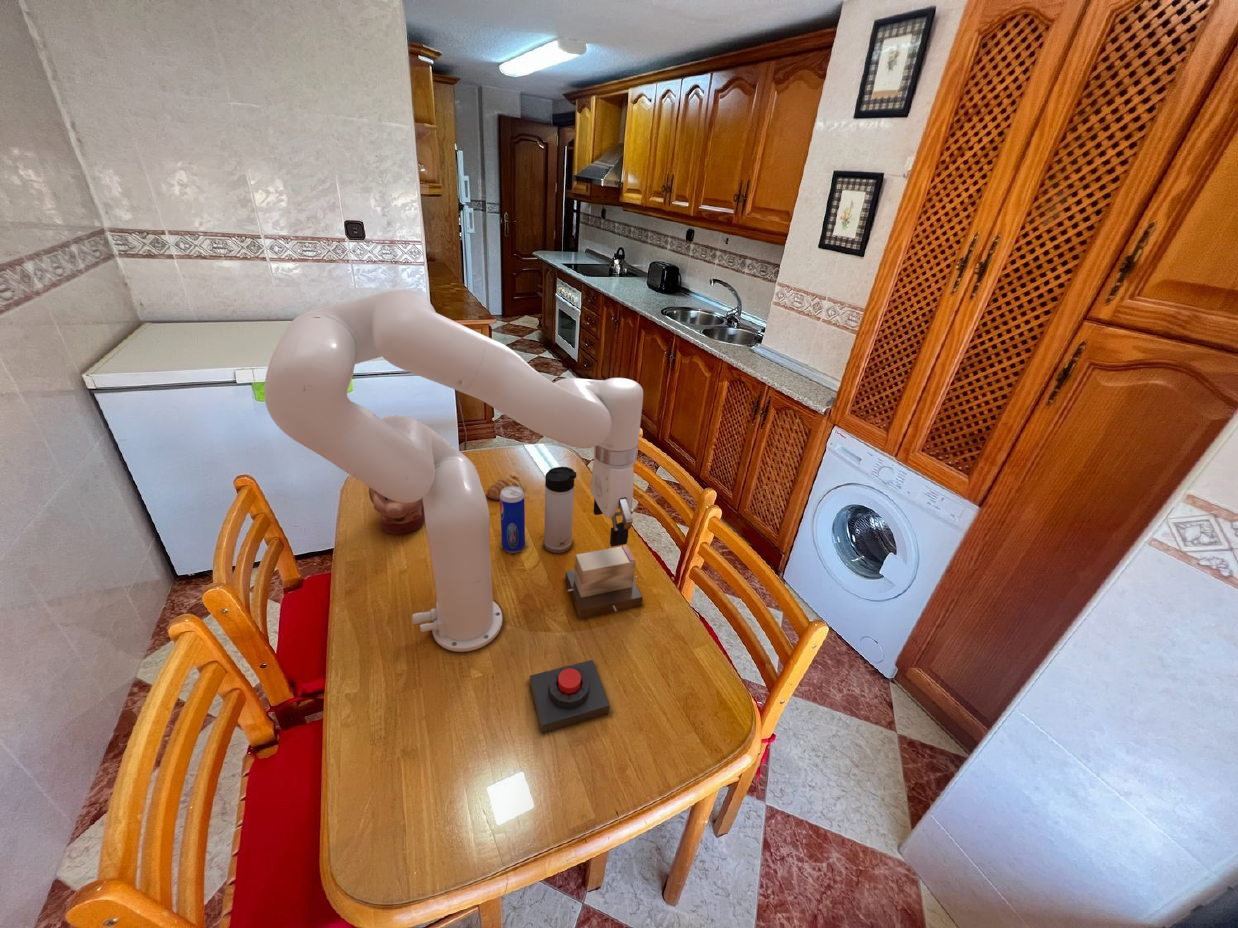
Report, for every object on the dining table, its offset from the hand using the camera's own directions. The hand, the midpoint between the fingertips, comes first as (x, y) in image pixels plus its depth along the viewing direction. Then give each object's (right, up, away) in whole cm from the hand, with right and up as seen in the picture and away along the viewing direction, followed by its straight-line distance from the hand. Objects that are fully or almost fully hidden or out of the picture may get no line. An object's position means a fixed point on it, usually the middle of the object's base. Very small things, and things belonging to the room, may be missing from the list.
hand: (609, 528), depth 94 cm
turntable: (-2, -15, +9) cm, 17 cm away
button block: (-7, -27, -12) cm, 30 cm away
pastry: (-28, +5, +37) cm, 46 cm away
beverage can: (-22, -7, +19) cm, 30 cm away
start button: (-6, -23, -14) cm, 28 cm away
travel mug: (-12, -7, +20) cm, 25 cm away
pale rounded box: (-1, -12, +7) cm, 14 cm away
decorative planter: (-50, -1, +24) cm, 55 cm away
